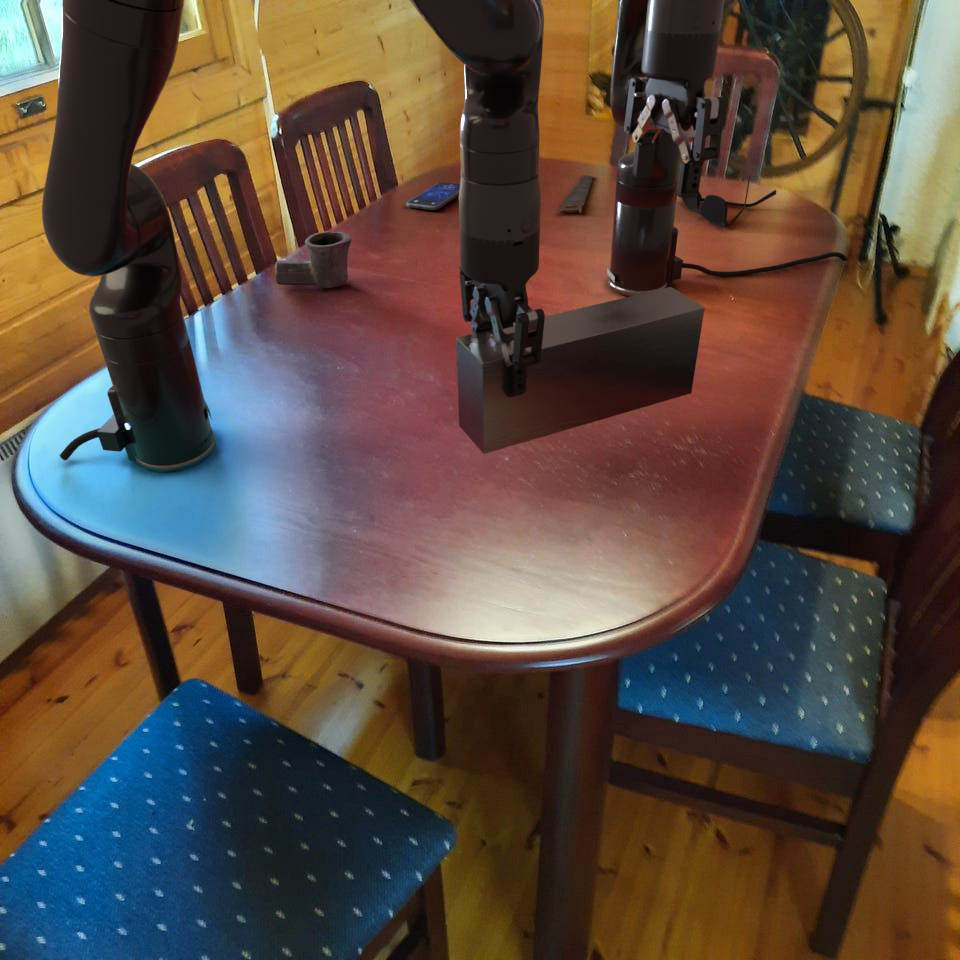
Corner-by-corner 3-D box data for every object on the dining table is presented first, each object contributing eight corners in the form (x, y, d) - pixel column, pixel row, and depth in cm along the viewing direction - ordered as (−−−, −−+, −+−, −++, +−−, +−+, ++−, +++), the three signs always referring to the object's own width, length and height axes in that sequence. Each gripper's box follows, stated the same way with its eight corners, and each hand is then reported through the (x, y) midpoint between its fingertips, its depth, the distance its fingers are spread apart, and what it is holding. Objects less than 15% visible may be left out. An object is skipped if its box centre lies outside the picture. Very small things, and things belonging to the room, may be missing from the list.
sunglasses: (787, 221, 160) (792, 194, 157) (718, 230, 157) (722, 203, 154) (740, 193, 173) (744, 168, 170) (675, 201, 170) (678, 176, 167)
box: (660, 370, 104) (670, 286, 97) (691, 393, 99) (705, 307, 93) (458, 425, 94) (455, 337, 88) (483, 454, 90) (482, 363, 83)
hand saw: (572, 176, 184) (572, 173, 184) (593, 177, 184) (593, 174, 183) (557, 214, 165) (557, 210, 165) (581, 215, 165) (581, 211, 164)
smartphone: (403, 203, 170) (439, 180, 181) (404, 207, 171) (440, 185, 181) (436, 207, 167) (471, 184, 178) (436, 212, 168) (471, 189, 179)
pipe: (280, 280, 143) (272, 233, 138) (357, 276, 144) (351, 229, 139) (276, 295, 138) (268, 248, 133) (355, 291, 139) (350, 243, 134)
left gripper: (431, 205, 83) (439, 358, 93) (498, 256, 73) (499, 421, 83) (500, 193, 86) (500, 343, 96) (574, 240, 76) (565, 402, 86)
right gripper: (758, 31, 83) (730, 200, 92) (672, 15, 94) (654, 167, 103) (695, 36, 80) (673, 209, 90) (613, 19, 91) (601, 174, 100)
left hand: (499, 379), depth 89 cm, fingers closed on box, 6 cm apart
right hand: (663, 186), depth 96 cm, fingers open, 8 cm apart
